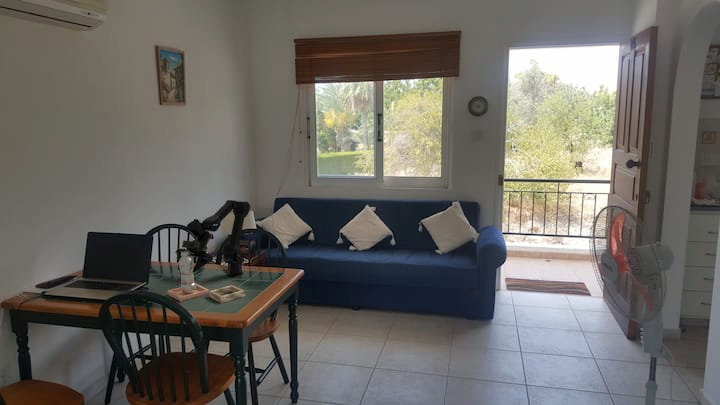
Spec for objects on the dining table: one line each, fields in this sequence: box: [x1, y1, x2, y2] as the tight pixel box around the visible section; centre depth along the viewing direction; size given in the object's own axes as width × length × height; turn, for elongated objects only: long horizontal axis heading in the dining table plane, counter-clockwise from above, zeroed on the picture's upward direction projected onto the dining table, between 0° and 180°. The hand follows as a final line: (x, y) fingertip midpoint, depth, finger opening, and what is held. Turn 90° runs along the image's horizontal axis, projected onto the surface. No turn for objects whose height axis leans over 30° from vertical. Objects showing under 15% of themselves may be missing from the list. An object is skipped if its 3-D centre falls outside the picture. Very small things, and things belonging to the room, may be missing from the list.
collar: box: [208, 284, 246, 304], centre depth 223 cm, size 12×12×2 cm
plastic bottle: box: [178, 249, 197, 294], centre depth 225 cm, size 6×7×20 cm
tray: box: [167, 283, 211, 303], centre depth 227 cm, size 14×14×2 cm
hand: (185, 271), depth 225 cm, fingers open, 9 cm apart
